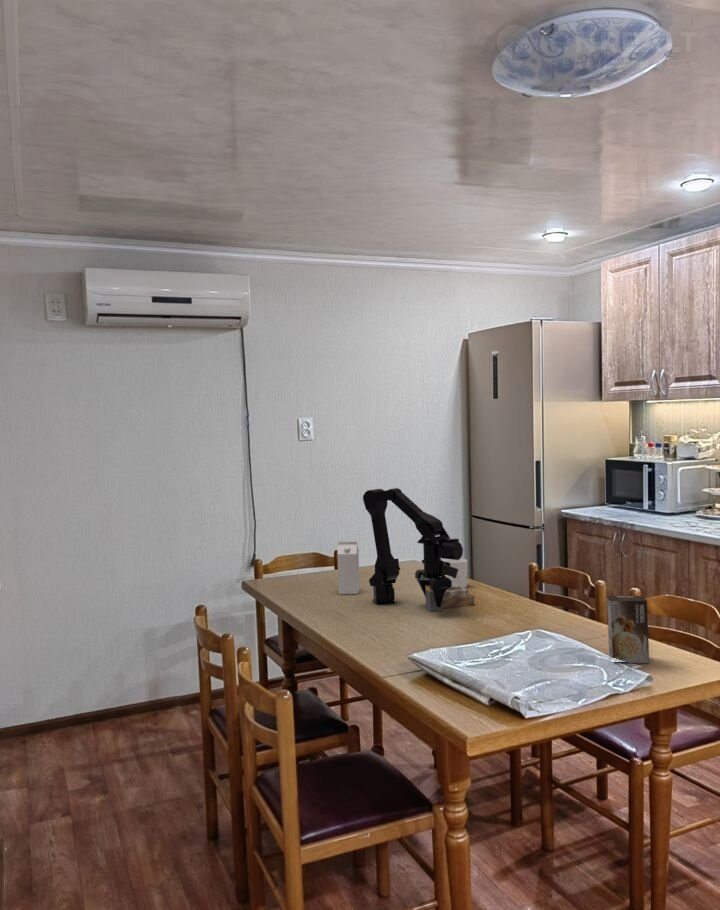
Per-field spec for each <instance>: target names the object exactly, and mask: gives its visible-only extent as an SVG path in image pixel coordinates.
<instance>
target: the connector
mask: <svg viewBox="0 0 720 910" xmlns="http://www.w3.org/2000/svg"><path fill="white" fill-rule="evenodd" d="M430 587H431V585H428V586H425V589H426V598H425V610H427V611H428V612H429V613H437V612H442V611H443V608H442V603H441V607H437V605H436V603H435V600H434V597H433V594H432V591H431V588H430Z"/></svg>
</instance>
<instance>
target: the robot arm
mask: <svg viewBox="0 0 720 910" xmlns="http://www.w3.org/2000/svg"><path fill="white" fill-rule="evenodd" d="M362 501H363V505H364V508H365V509H366V511H367V513H368V514H369V516H370V518H371V524H372V525H371V526H372V530H373V538H374V543H375V549H376V560H375V564H374V573H373V575H371V577H370V578H369V579H368V583H369V586H370V587H373V588H372V591H373V599H371V601H372V602H374V603H375V604H376V605H385V604H395V603H396V601H395V600H396V599H395V598H396V597H395V588H394V586H393V584H396V582H397V578H398V577H399V576H400V570H401V568H400V564H399V563H400V562H399V558H394V556H393V554H392V550H391V545H390V538H389V532H388V525H387V519H386V511H387V508H388V501H390V502H392V503H393V504H394V506H396V507H397V508H398V509H399V510H400V511H401V512H403V514H405V515H406V516H407V518H409V519H410V520H411V521H412V522H413V523H414V525H415V527H416V528H415V529H416V530H417V531H418V533H419V534H420V535H421V537H420V539H419V540H418V541H417V544H422V546H423V547H422V549H423V559H422V560H421V563H422V564H423V569H417V570H416V571H415V573H414V577H415V579H416V582H417V583H418V584H419V586H420V588H421V591H422V593H423V595H424V597H425V599H426V589H425V586H428V585H431V587H430V588H431V591H432V594H433V597H434V600H435V603H436V605H437V607H441V603H442V600H443V596H444V593H445V591H446V590H447V589H449V588H450V587H452V581H451V580H450V579H449V578H448V576H451V577H453V578H456V576H457V573H458V569H457V568H454V567H452V566H450V563H449V562H446V561H445V560H449V559H452V560H459V559H462V557H463V553H464V548H463V546H462V544H461V543H460V540H459V538H451V537H450V535H449V534H448V532H447V530H446V529H445V527H444V524H443V522H442V521H441V519H439V518H437V517H435V516H434V515H432V514H429V513H427V512H425V511H423V510H422V508H420V507H419V505H417V504H416V503H415V502H414V501H413V500H411V499H410V498H409V497H408V496H407V495H406V494H405V493H403V491H402V490H401V489H400V488H398V487H396V488H395V487H394V488H389V489H387V490H384V489H382V488H374V489H368V490H366V491H365V492H364V494H363V495H362ZM442 559H445V560H442Z"/></svg>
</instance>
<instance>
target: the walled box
mask: <svg viewBox="0 0 720 910" xmlns="http://www.w3.org/2000/svg"><path fill="white" fill-rule="evenodd" d="M469 606H475V596H474V595H473V594H471V593H470V592H469V589H468V588H467V587H466V588H464V587H462V586H460V585H459V586H452V587H450V588H449V589H447V590H446V591H445V593H444V596H443V600H442V609H449V608H458V607H460V608H461V607H469Z"/></svg>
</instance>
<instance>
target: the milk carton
mask: <svg viewBox="0 0 720 910" xmlns="http://www.w3.org/2000/svg"><path fill="white" fill-rule="evenodd" d="M337 544H338V545H337V578H338V579H337V580H338V595H358V594H359V593H360V589H361V583H360V582H361V581H360V556H359V552H360V551H359V546H358V541H355V540H354V541H338V542H337Z"/></svg>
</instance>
